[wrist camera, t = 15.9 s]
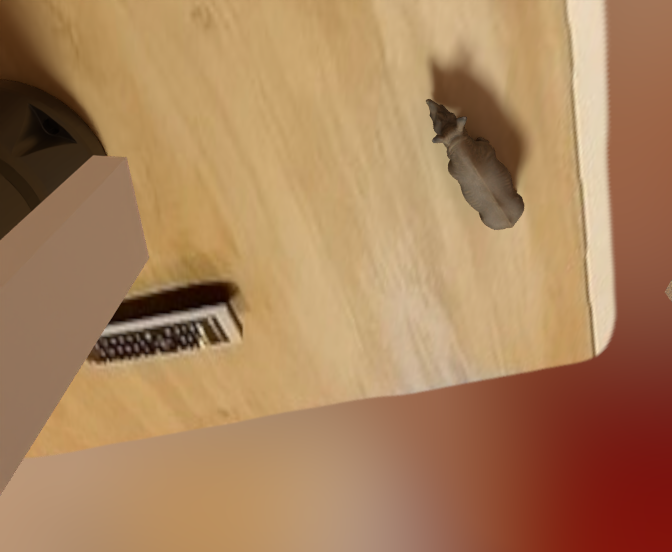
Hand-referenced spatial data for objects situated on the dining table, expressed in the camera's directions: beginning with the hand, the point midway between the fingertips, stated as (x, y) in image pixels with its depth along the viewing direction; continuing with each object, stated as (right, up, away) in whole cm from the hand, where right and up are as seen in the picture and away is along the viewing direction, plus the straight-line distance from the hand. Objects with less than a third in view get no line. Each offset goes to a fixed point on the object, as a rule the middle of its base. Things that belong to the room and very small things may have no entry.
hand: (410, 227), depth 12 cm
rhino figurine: (+10, +10, +33) cm, 36 cm away
